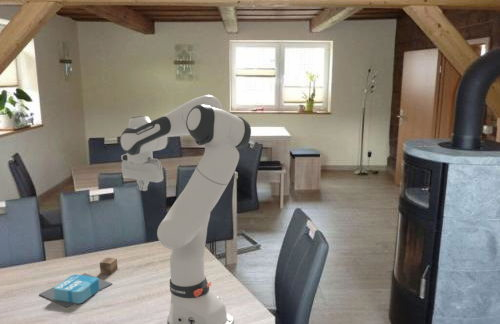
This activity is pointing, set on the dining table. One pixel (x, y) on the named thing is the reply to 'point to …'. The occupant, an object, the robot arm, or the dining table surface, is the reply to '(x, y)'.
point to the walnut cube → (108, 266)
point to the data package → (76, 288)
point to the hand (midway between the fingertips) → (143, 190)
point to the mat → (50, 295)
